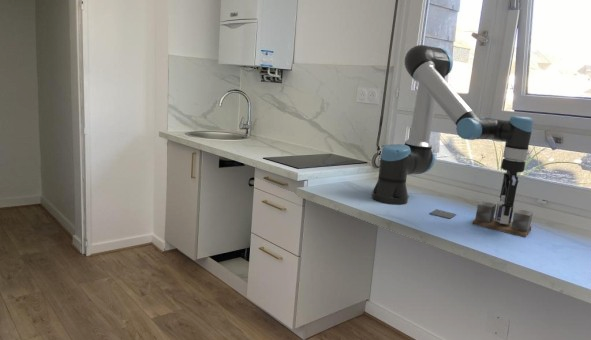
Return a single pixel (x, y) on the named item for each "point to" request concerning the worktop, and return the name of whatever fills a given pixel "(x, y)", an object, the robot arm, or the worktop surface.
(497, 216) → the pill bottle
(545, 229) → the worktop surface
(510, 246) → the worktop surface
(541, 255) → the worktop surface
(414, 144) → the robot arm
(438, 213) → the pad
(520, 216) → the board with two blocks
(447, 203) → the worktop surface
